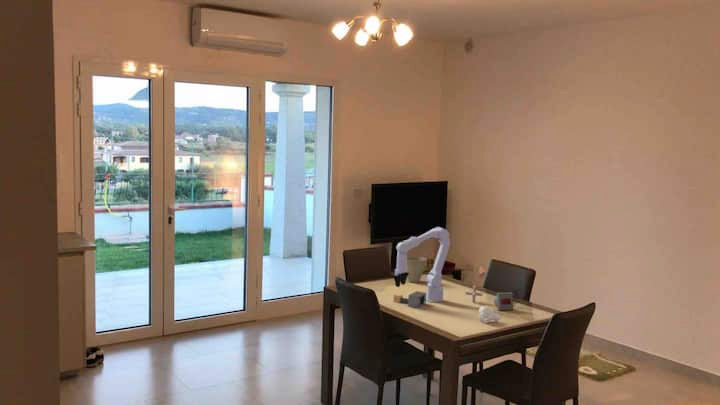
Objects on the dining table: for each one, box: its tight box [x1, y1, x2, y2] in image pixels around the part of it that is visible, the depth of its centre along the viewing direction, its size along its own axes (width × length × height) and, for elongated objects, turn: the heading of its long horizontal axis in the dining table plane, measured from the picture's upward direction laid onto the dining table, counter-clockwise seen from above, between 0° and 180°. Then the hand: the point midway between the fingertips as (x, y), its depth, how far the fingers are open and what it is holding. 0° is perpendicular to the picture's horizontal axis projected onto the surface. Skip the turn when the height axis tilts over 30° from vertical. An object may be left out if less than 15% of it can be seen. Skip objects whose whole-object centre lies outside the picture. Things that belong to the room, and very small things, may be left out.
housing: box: [407, 290, 427, 309], centre depth 352 cm, size 6×12×6 cm, turn 152°
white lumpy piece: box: [478, 305, 501, 325], centre depth 324 cm, size 6×8×12 cm
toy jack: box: [465, 285, 484, 303], centre depth 366 cm, size 10×10×10 cm
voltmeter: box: [493, 288, 522, 311], centre depth 359 cm, size 27×11×10 cm, turn 145°
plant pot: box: [406, 256, 427, 284], centre depth 413 cm, size 15×15×16 cm
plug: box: [392, 293, 422, 306], centre depth 355 cm, size 16×4×4 cm, turn 62°
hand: (400, 285), depth 358 cm, fingers open, 7 cm apart
